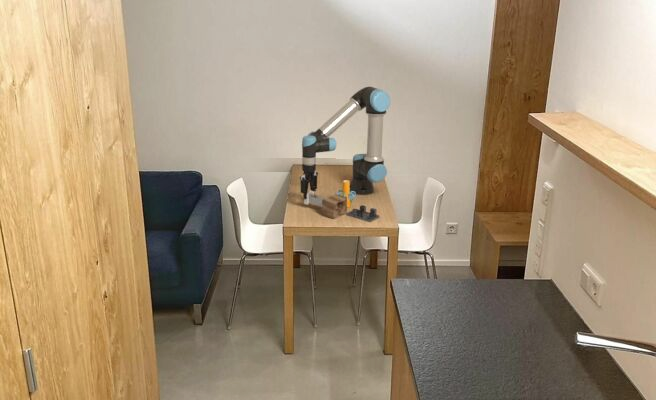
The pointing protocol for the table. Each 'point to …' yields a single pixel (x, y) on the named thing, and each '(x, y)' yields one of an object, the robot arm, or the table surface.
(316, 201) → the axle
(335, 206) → the brown wooden stepped block
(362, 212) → the dark grey pegged plate
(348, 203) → the orange post with rings
